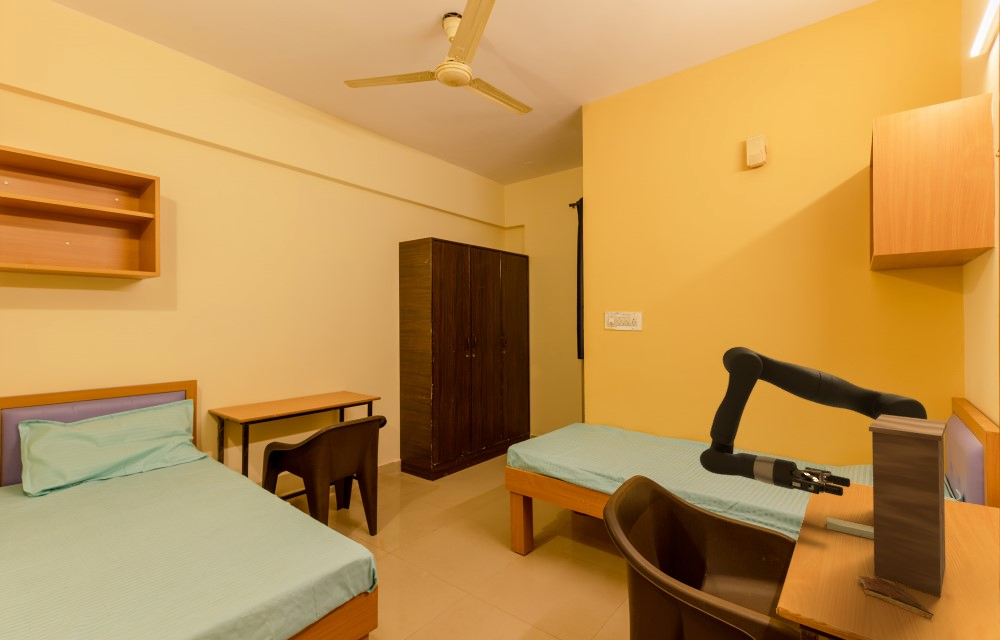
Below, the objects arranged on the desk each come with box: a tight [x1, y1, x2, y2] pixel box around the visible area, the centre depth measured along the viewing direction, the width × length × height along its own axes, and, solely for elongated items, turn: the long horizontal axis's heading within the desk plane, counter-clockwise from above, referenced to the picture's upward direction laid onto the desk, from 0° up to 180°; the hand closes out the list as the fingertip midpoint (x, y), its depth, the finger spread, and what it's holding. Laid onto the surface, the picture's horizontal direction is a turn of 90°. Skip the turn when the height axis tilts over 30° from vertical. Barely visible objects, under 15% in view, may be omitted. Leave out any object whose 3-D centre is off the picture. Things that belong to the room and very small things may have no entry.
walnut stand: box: [868, 414, 948, 598], centre depth 95 cm, size 17×11×32 cm, turn 132°
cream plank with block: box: [826, 516, 874, 540], centre depth 110 cm, size 4×20×4 cm, turn 51°
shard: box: [857, 575, 935, 619], centre depth 86 cm, size 11×8×2 cm
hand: (846, 487), depth 113 cm, fingers open, 8 cm apart
